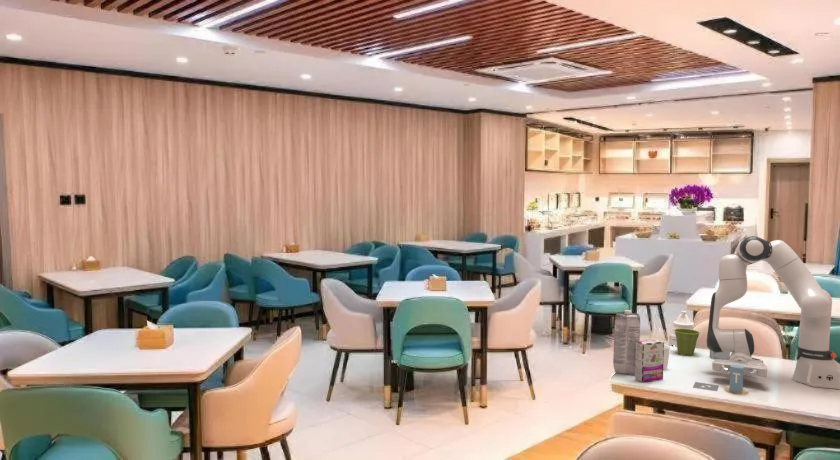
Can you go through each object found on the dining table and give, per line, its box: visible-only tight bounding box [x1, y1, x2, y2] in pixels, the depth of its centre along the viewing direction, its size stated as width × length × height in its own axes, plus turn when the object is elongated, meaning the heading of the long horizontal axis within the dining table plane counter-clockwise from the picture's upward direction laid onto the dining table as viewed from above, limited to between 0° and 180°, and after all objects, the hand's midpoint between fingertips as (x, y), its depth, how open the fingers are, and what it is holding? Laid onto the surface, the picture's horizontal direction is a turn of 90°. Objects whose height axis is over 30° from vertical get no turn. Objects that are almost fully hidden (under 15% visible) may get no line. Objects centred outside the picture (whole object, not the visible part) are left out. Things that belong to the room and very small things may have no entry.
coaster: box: [723, 386, 750, 396], centre depth 259 cm, size 9×9×1 cm
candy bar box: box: [634, 339, 665, 383], centre depth 273 cm, size 11×5×16 cm, turn 112°
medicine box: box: [709, 349, 731, 360], centre depth 311 cm, size 8×4×9 cm, turn 84°
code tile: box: [692, 381, 720, 392], centre depth 264 cm, size 9×9×1 cm
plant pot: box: [674, 329, 701, 356], centre depth 318 cm, size 12×12×11 cm
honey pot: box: [668, 310, 697, 348], centre depth 335 cm, size 13×13×18 cm
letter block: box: [729, 364, 744, 394], centre depth 258 cm, size 4×5×10 cm
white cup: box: [663, 344, 670, 371], centre depth 291 cm, size 8×8×10 cm
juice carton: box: [612, 309, 641, 376], centre depth 283 cm, size 9×10×27 cm
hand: (738, 372), depth 261 cm, fingers open, 8 cm apart
